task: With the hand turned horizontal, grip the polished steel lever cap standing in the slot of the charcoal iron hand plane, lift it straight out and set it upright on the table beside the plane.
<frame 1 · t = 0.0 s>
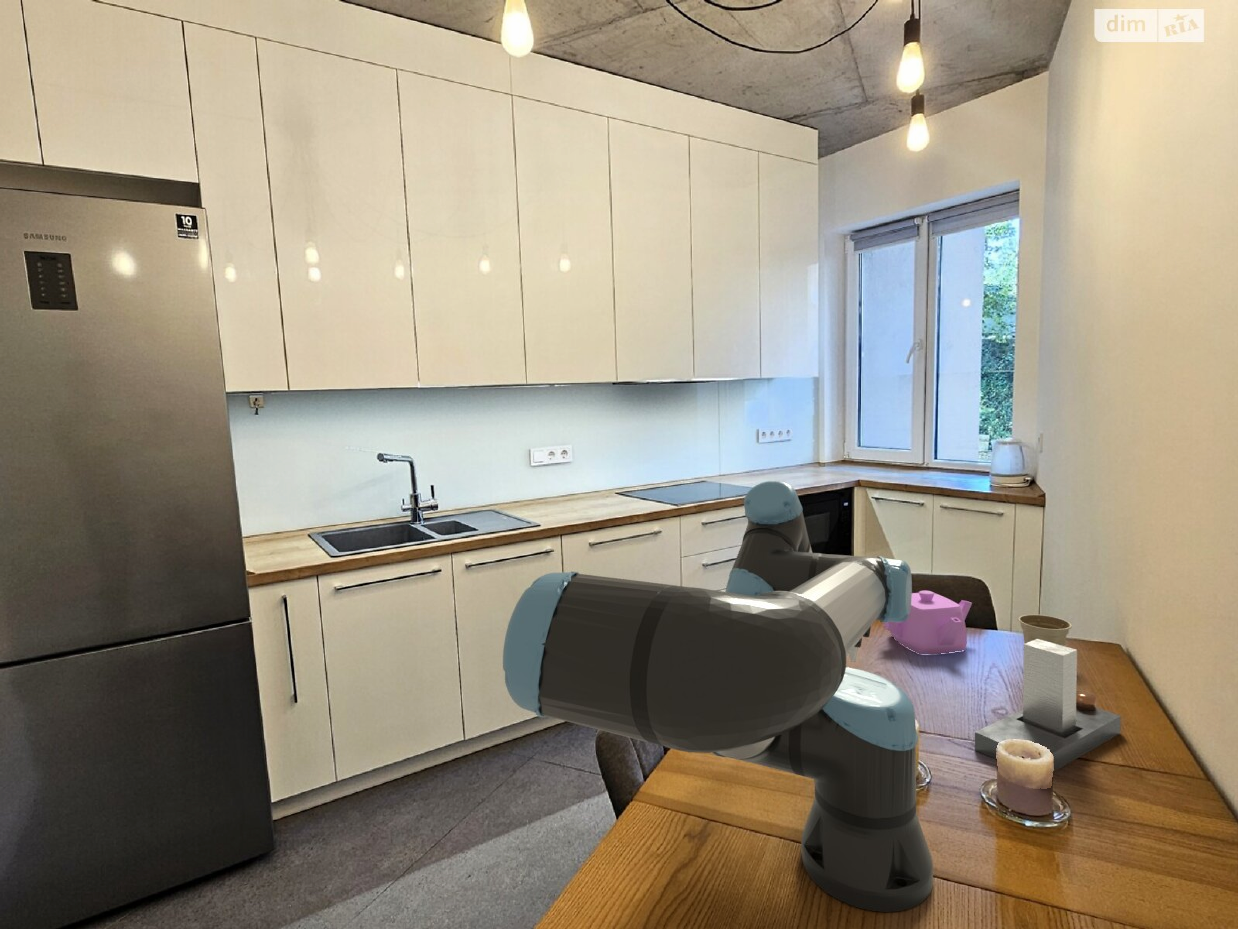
hand: (812, 648, 110), 15 cm above the table, tool tilted 35°, fingers open, 13 cm apart
plane body: (1048, 741, 105), on the table
teakettle: (929, 645, 149), on the table
lever cap: (1048, 741, 105), resting in plane body
flower pot: (1044, 662, 136), on the table
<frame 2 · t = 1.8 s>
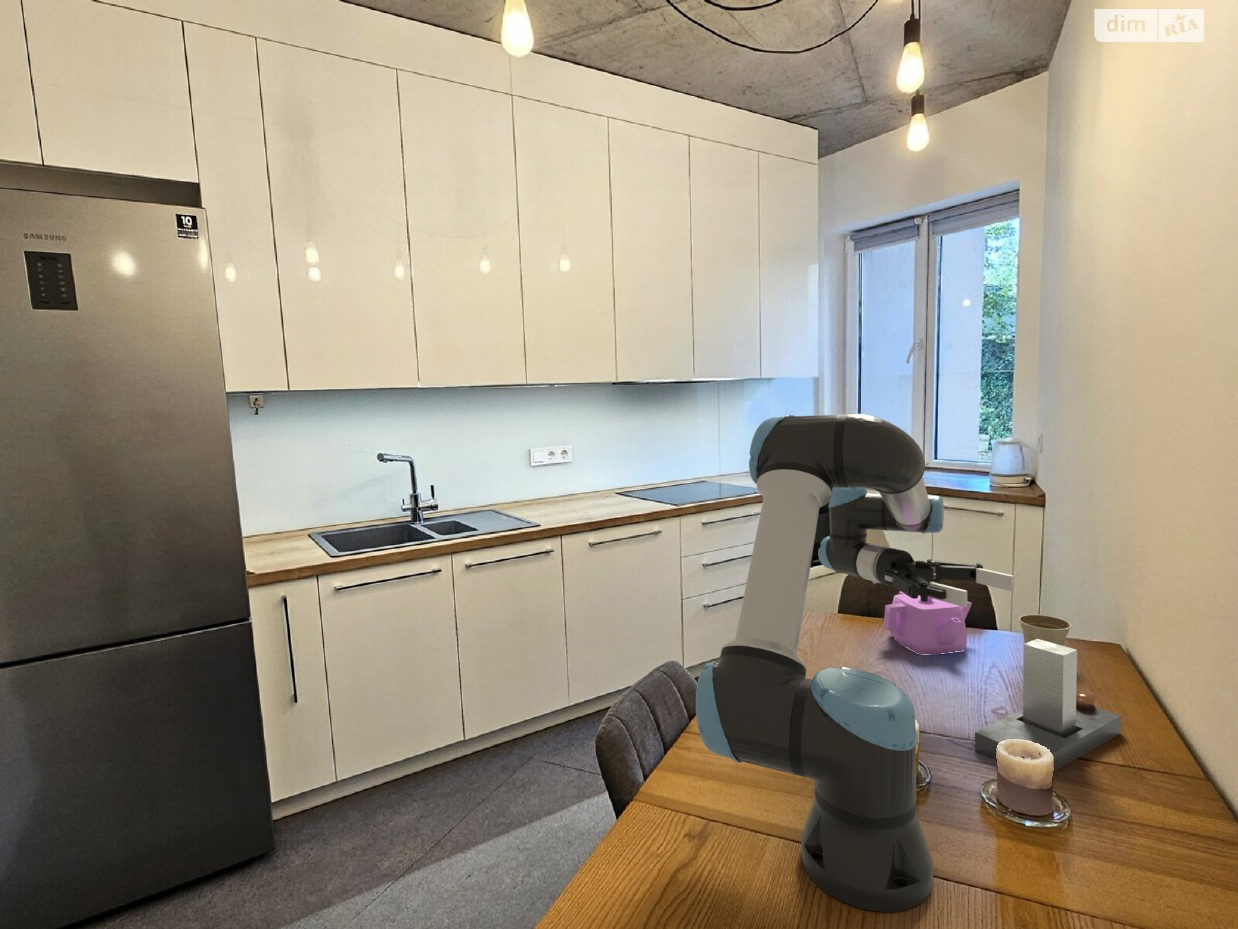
hand: (990, 591, 111), 23 cm above the table, tool horizontal, fingers open, 13 cm apart
nothing on the table moved.
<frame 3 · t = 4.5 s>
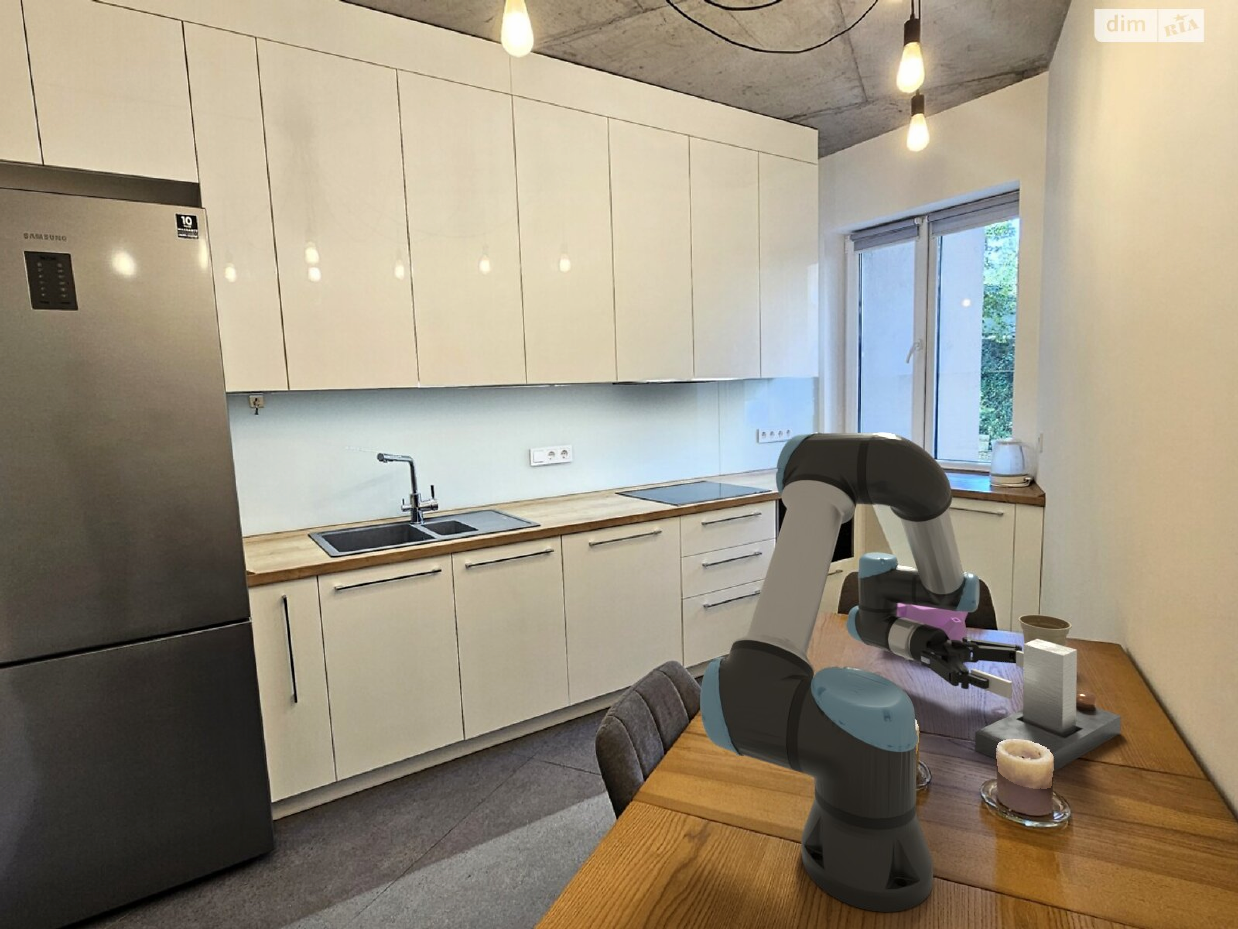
hand: (1034, 680, 107), 9 cm above the table, tool horizontal, fingers open, 13 cm apart
nothing on the table moved.
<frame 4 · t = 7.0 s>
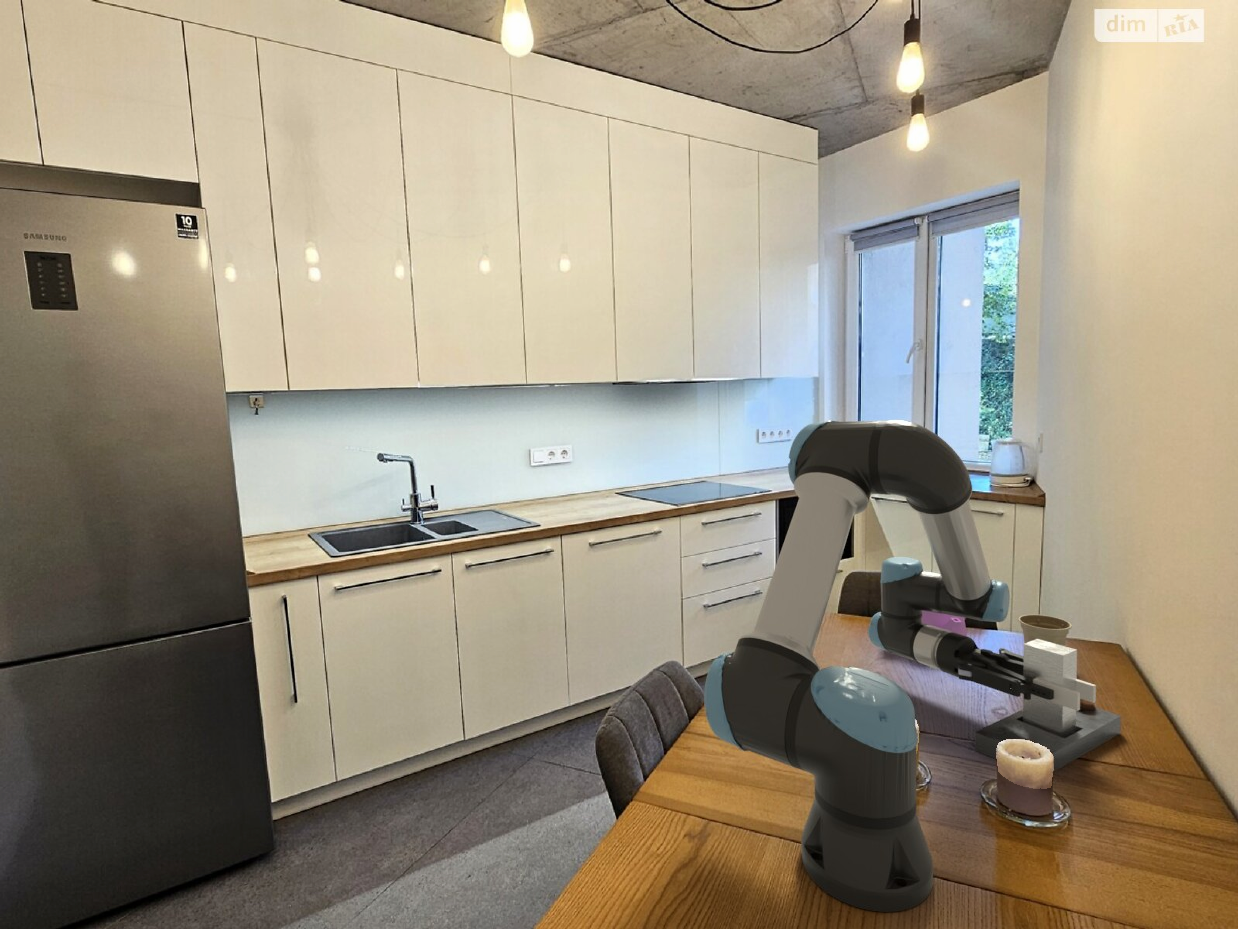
hand: (1086, 697, 100), 10 cm above the table, tool horizontal, fingers closed on lever cap, 4 cm apart
lever cap: (1048, 741, 105), resting in plane body, touching gripper
everything else where it was.
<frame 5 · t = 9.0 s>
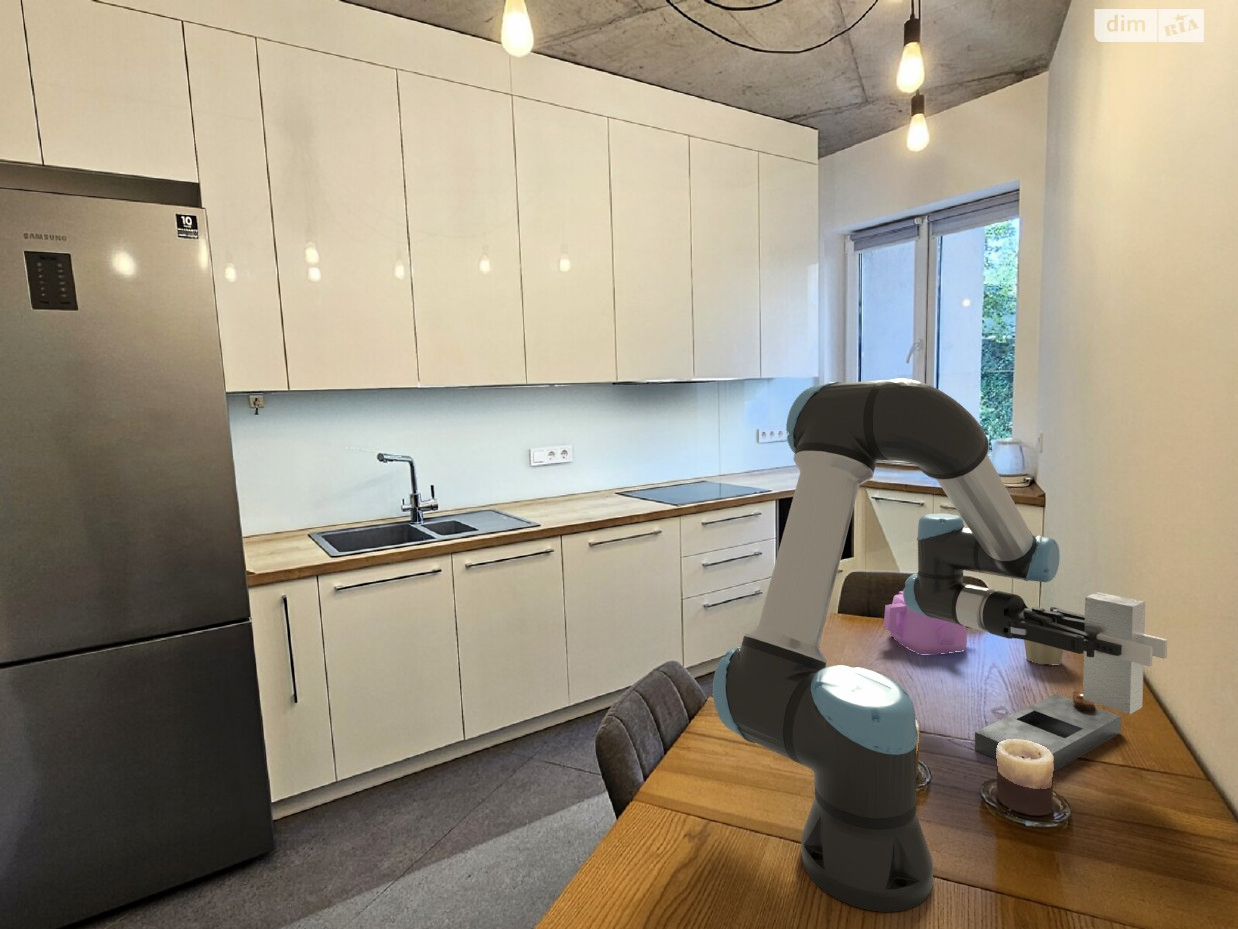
hand: (1158, 652, 91), 20 cm above the table, tool horizontal, fingers closed on lever cap, 4 cm apart
lever cap: (1112, 703, 97), point 10 cm above the table, touching gripper
everything else where it was.
when the fingers open (11 cm above the table, at t = 11.5 s): lever cap drops 1 cm, on the table.
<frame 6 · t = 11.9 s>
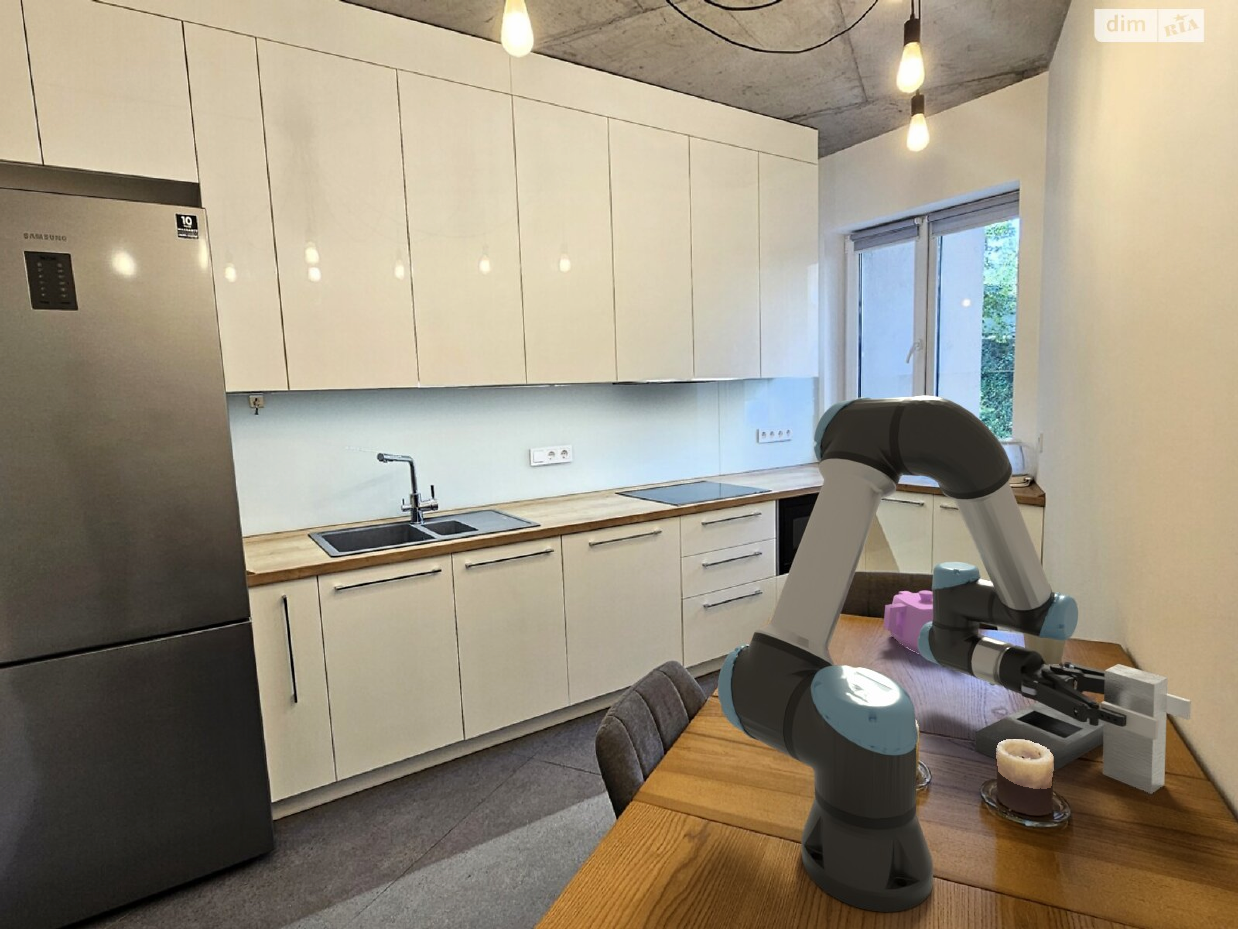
hand: (1173, 719, 89), 11 cm above the table, tool horizontal, fingers open, 9 cm apart
lever cap: (1132, 779, 94), on the table
everything else where it was.
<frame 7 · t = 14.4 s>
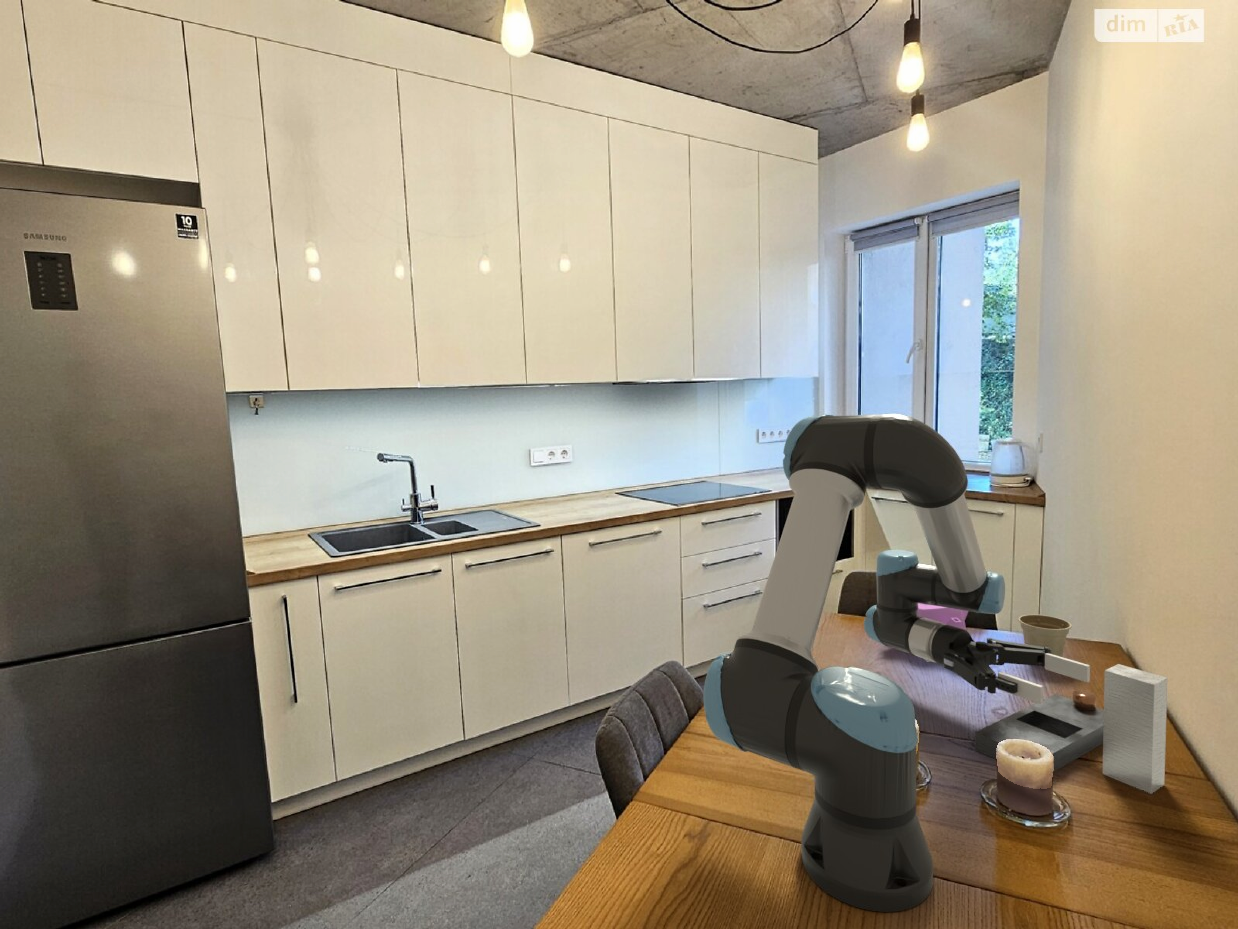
hand: (1066, 684, 101), 11 cm above the table, tool horizontal, fingers open, 13 cm apart
nothing on the table moved.
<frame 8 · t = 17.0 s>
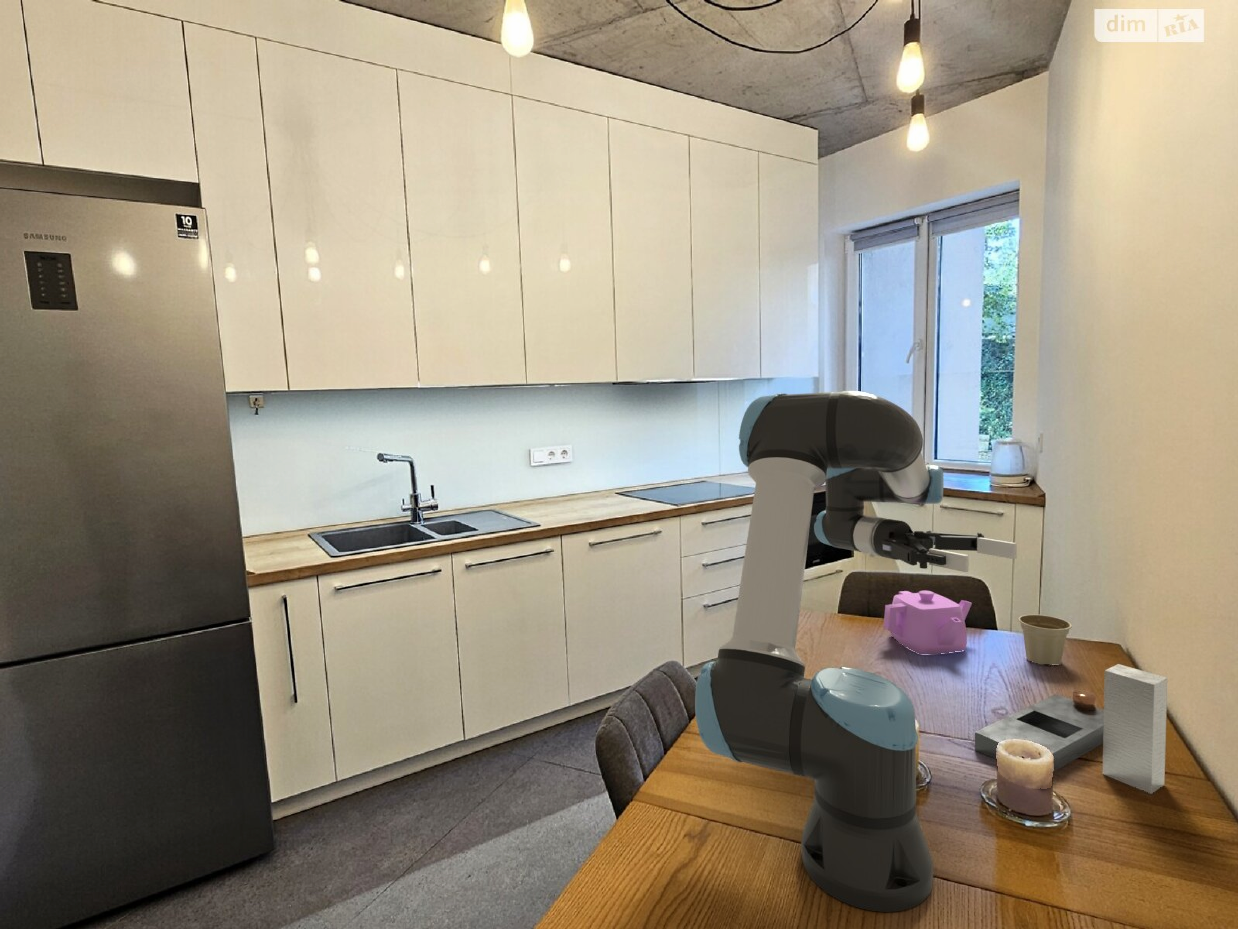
hand: (992, 557, 107), 30 cm above the table, tool horizontal, fingers open, 13 cm apart
nothing on the table moved.
at the end: lever cap inside the target area (0.1 cm from its centre), on the table; lever cap tilted 0°; the gripper is holding nothing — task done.
